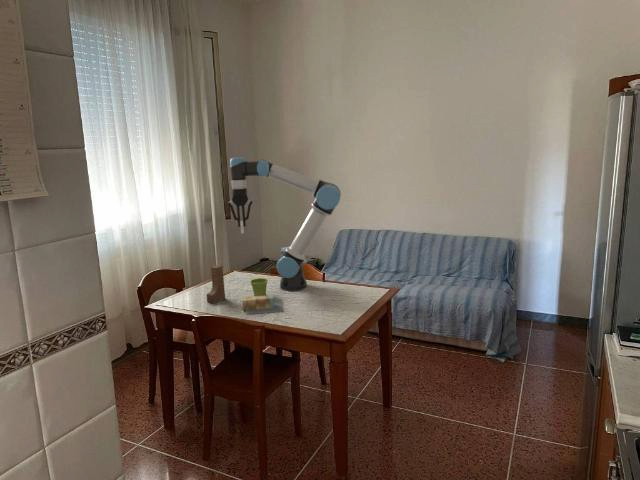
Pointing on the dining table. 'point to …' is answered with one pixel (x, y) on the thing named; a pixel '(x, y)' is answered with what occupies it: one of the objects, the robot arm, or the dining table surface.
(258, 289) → the plant pot
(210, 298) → the brown boot
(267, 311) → the mat
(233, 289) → the dining table surface
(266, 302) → the tan jar with lid
